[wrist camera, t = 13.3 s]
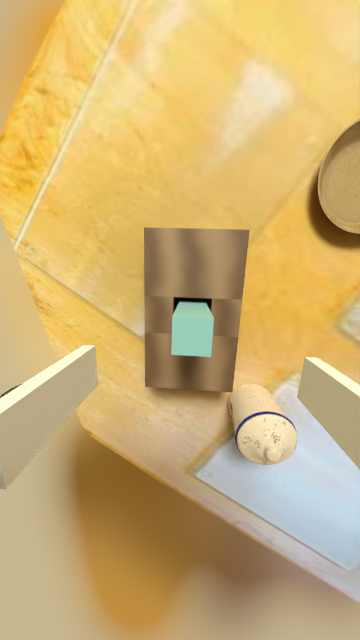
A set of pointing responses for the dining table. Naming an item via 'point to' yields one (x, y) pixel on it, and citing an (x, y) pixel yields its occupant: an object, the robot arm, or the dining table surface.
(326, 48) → the dining table surface
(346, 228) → the plant saucer
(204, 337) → the peg
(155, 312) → the hole board
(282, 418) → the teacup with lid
